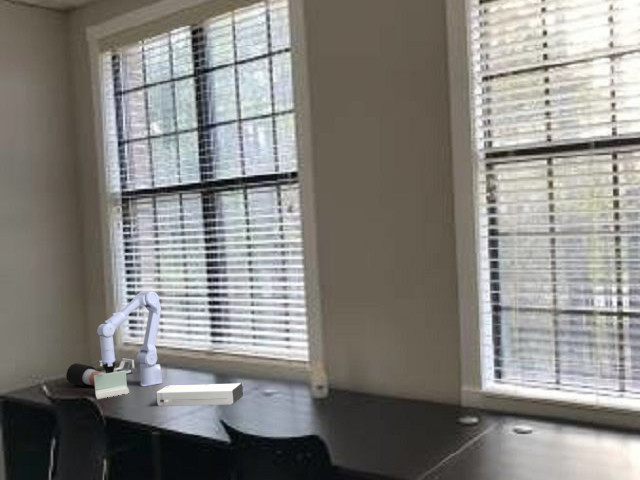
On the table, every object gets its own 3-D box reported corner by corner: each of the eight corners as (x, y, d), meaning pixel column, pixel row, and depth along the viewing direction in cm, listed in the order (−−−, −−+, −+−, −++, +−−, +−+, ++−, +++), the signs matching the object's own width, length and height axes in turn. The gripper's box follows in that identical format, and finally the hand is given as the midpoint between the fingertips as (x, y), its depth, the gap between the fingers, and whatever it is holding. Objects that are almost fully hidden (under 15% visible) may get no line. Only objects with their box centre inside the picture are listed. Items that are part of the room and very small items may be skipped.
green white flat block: (127, 390, 324) (126, 385, 324) (129, 393, 317) (128, 388, 317) (95, 396, 319) (95, 390, 319) (97, 399, 312) (96, 393, 312)
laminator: (243, 397, 295) (241, 383, 295) (233, 406, 283) (231, 390, 283) (168, 399, 303) (167, 385, 302) (156, 407, 291) (154, 393, 290)
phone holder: (104, 361, 350) (92, 359, 358) (105, 380, 351) (94, 378, 359) (135, 354, 363) (123, 352, 371) (137, 372, 363) (125, 370, 372)
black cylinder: (120, 399, 327) (112, 383, 322) (71, 387, 344) (63, 372, 340) (133, 385, 334) (126, 369, 330) (85, 374, 352) (77, 359, 347)
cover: (126, 385, 324) (126, 384, 325) (125, 371, 322) (125, 370, 323) (95, 391, 319) (95, 390, 319) (94, 376, 317) (93, 375, 317)
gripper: (97, 348, 326) (99, 377, 326) (99, 353, 312) (102, 383, 313) (112, 346, 328) (115, 375, 329) (116, 351, 315) (118, 381, 315)
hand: (110, 379), depth 321 cm, fingers closed, pressing on cover
